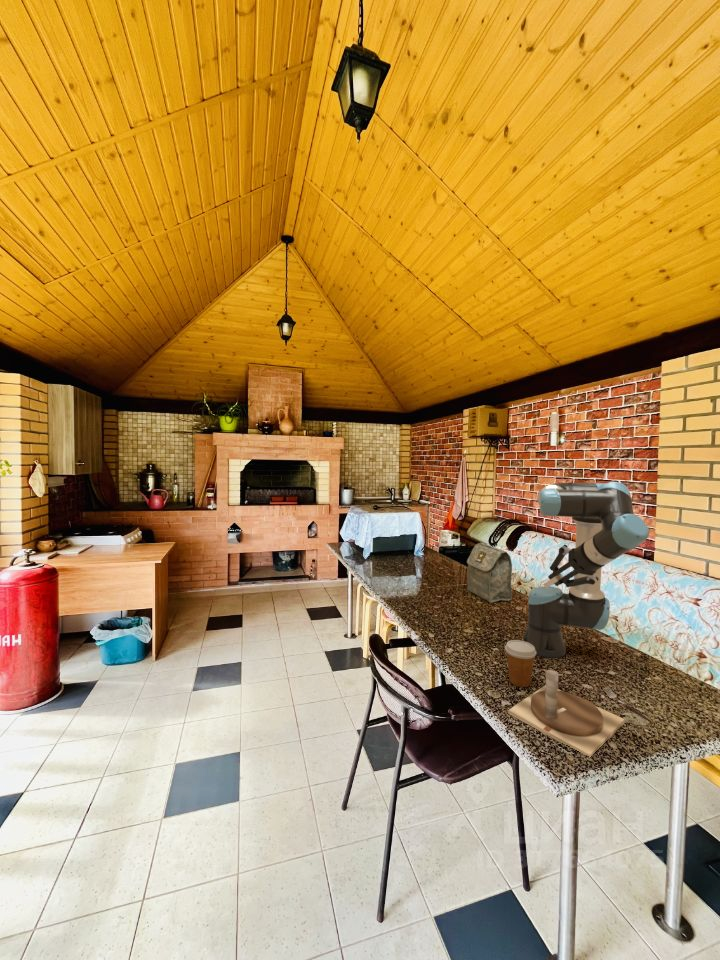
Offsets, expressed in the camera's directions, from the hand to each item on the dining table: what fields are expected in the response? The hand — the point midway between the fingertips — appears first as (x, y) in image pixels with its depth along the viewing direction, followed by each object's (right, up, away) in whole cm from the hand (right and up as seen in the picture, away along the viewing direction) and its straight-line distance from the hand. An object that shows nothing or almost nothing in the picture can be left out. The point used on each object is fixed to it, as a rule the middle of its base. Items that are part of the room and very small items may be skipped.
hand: (547, 584), depth 128 cm
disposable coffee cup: (-7, -33, +4) cm, 34 cm away
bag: (+9, -29, +87) cm, 92 cm away
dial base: (-2, -34, -15) cm, 37 cm away
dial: (-2, -33, -15) cm, 36 cm away
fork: (+19, -34, -9) cm, 41 cm away
